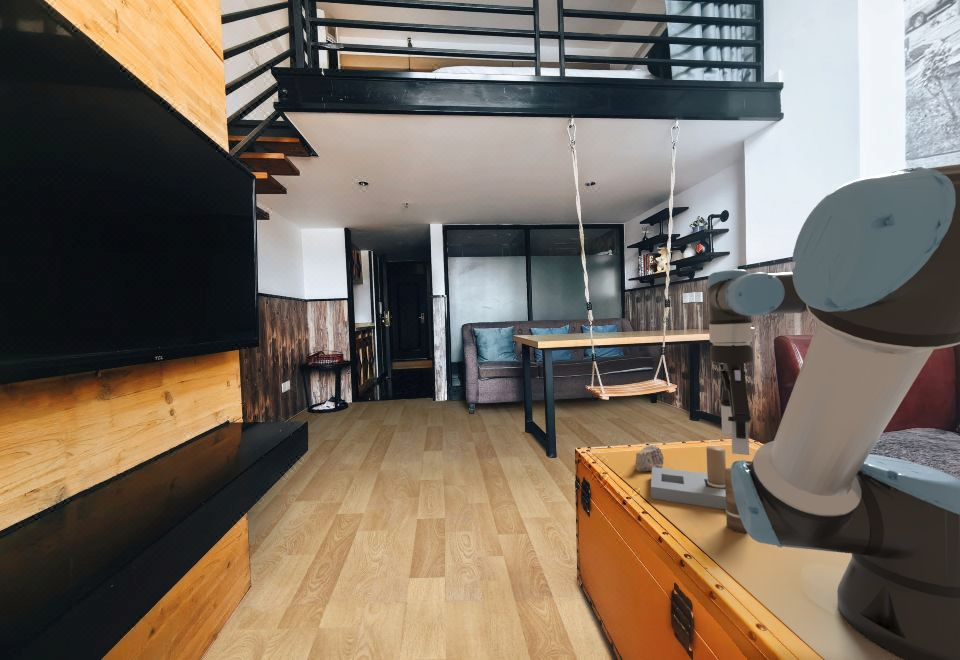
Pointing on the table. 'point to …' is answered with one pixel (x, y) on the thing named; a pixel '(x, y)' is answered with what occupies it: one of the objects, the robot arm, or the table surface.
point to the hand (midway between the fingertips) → (734, 443)
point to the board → (693, 483)
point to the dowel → (732, 506)
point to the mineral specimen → (649, 459)
